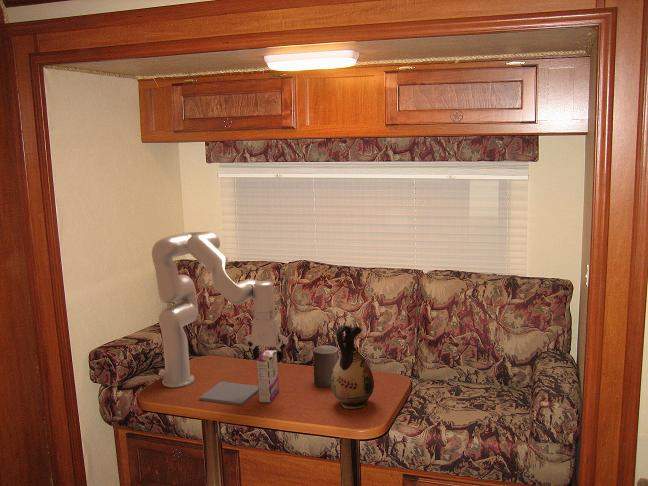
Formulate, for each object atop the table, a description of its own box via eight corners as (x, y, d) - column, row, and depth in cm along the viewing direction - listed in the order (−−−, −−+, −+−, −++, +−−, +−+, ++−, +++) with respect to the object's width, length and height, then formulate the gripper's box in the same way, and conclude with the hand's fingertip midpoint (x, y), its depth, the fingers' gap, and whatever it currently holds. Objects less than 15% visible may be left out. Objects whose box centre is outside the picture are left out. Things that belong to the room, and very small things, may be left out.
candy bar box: (266, 390, 236) (264, 349, 233) (279, 391, 235) (277, 350, 232) (258, 402, 225) (255, 360, 222) (271, 403, 224) (268, 360, 221)
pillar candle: (310, 385, 239) (309, 348, 236) (319, 376, 248) (318, 340, 245) (333, 388, 235) (332, 351, 233) (342, 379, 244) (341, 343, 242)
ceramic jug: (348, 391, 231) (346, 315, 227) (382, 401, 222) (381, 322, 217) (320, 407, 219) (316, 326, 214) (354, 418, 209) (352, 334, 204)
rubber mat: (199, 399, 229) (199, 397, 229) (221, 383, 244) (221, 381, 244) (242, 405, 223) (241, 403, 222) (261, 388, 237) (261, 386, 237)
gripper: (239, 316, 224) (242, 361, 227) (282, 318, 218) (285, 364, 221) (248, 311, 231) (252, 354, 234) (290, 313, 225) (293, 357, 227)
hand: (268, 359), depth 227 cm, fingers open, 9 cm apart
